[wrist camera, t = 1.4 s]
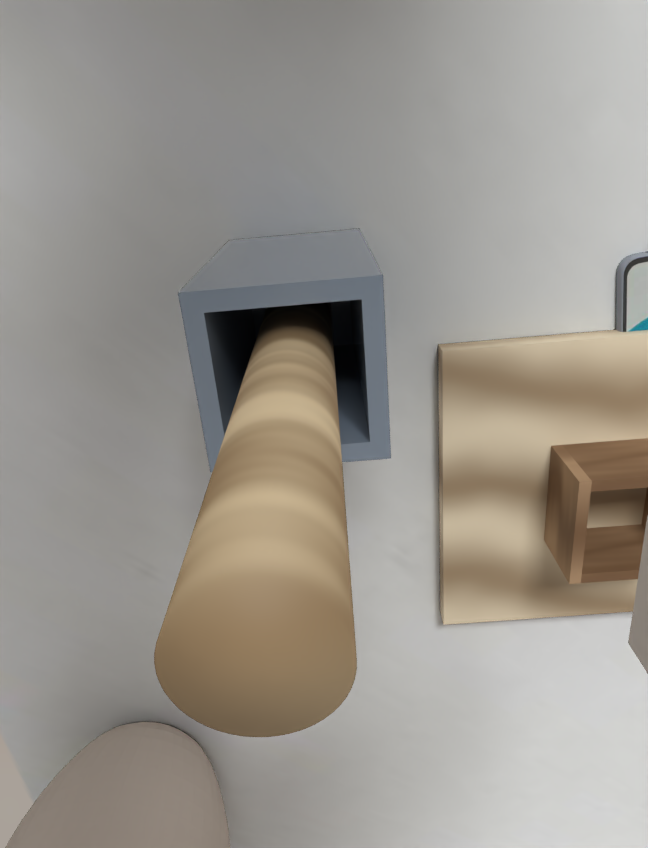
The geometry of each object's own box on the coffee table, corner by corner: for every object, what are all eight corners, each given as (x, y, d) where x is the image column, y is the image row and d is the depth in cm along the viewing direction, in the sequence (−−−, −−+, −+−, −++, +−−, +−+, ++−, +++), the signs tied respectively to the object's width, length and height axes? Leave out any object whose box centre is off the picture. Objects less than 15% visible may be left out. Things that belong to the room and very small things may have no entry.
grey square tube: (229, 240, 30) (178, 292, 19) (359, 228, 30) (382, 275, 19) (246, 363, 33) (210, 472, 22) (366, 353, 32) (390, 458, 22)
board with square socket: (438, 344, 32) (458, 378, 28) (785, 315, 32) (867, 345, 27) (440, 611, 40) (456, 674, 35) (721, 591, 39) (777, 652, 34)
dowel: (267, 273, 30) (135, 593, 9) (327, 268, 30) (350, 577, 8) (274, 331, 32) (174, 742, 10) (332, 327, 32) (361, 730, 10)
